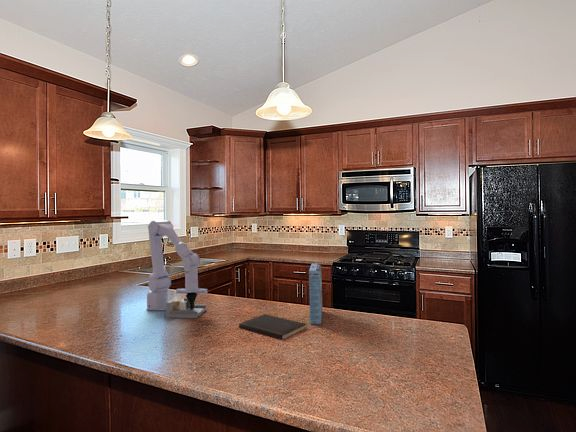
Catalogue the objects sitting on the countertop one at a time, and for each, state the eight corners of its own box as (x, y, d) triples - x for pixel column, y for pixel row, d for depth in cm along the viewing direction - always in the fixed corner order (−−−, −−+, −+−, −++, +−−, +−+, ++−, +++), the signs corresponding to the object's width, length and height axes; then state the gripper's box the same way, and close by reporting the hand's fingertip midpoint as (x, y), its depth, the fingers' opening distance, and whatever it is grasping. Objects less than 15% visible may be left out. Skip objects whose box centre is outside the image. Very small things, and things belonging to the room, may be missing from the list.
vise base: (165, 317, 159) (164, 303, 159) (176, 309, 171) (175, 296, 171) (196, 318, 158) (196, 303, 158) (205, 310, 170) (205, 297, 170)
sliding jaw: (179, 312, 160) (179, 300, 160) (187, 307, 169) (187, 295, 169) (186, 312, 160) (185, 300, 160) (193, 307, 169) (193, 295, 169)
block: (173, 311, 163) (173, 301, 162) (177, 308, 168) (177, 298, 167) (181, 312, 162) (181, 301, 162) (185, 309, 167) (185, 298, 167)
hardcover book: (264, 319, 157) (264, 314, 157) (306, 329, 143) (306, 323, 143) (238, 329, 144) (238, 323, 144) (282, 341, 130) (281, 335, 130)
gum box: (321, 324, 147) (320, 270, 146) (308, 324, 147) (308, 270, 147) (322, 311, 166) (322, 263, 165) (311, 310, 167) (311, 263, 166)
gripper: (173, 281, 161) (173, 310, 161) (203, 281, 159) (204, 311, 160) (179, 278, 168) (180, 306, 168) (208, 278, 166) (209, 306, 167)
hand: (192, 308), depth 164 cm, fingers closed
